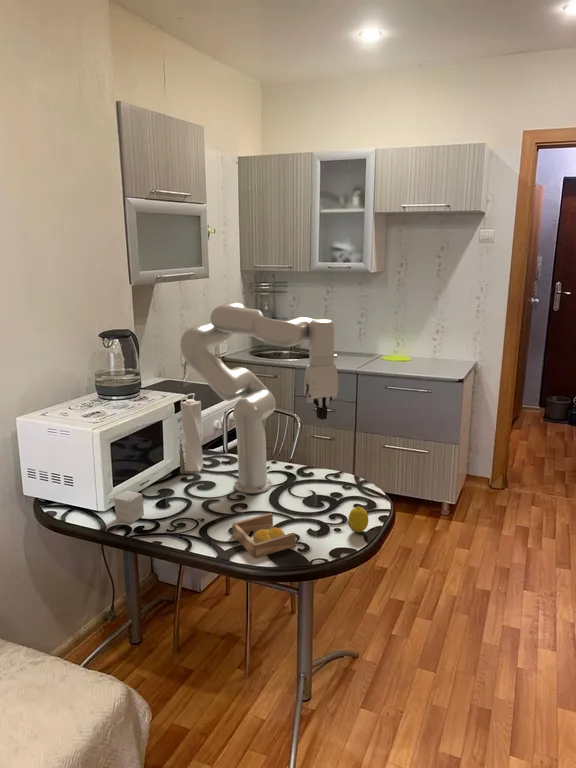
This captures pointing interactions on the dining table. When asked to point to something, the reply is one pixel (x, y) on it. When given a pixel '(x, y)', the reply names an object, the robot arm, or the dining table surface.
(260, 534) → the bread roll
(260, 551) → the bay
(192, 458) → the skyscraper
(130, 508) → the product box
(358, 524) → the lemon
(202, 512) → the dining table surface
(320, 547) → the dining table surface
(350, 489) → the dining table surface
